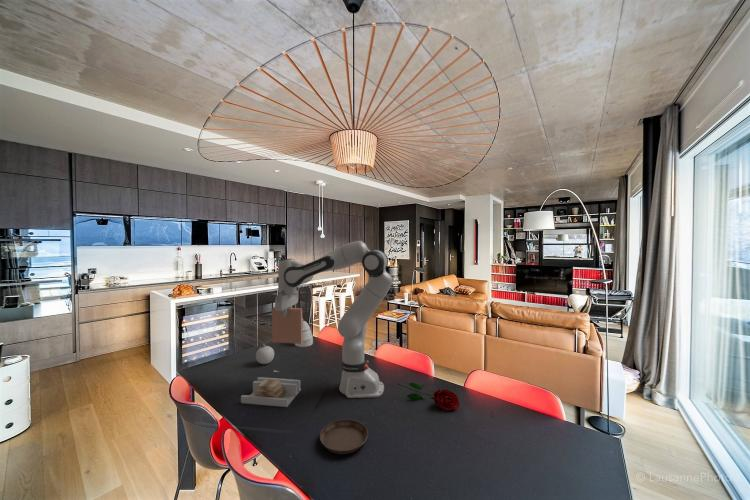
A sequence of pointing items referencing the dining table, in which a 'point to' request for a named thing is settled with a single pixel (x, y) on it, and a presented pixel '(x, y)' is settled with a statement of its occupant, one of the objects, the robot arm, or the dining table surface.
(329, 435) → the plant saucer
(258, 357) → the ornament
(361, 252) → the robot arm
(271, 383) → the offcut top
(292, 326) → the brown square panel
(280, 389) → the offcut middle
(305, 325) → the honey pot
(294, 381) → the rack
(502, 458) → the dining table surface
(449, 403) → the flower
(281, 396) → the offcut bottom
